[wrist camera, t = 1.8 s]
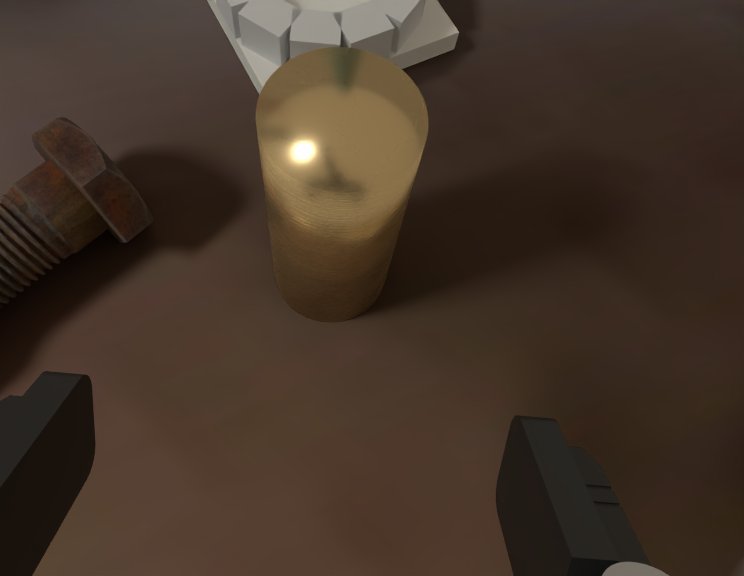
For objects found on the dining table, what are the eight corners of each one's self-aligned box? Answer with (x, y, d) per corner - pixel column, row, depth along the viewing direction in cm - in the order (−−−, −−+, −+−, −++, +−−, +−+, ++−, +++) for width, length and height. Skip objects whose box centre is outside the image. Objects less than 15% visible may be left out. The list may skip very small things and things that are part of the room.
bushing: (304, 340, 27) (302, 219, 17) (255, 245, 29) (227, 80, 19) (405, 293, 29) (459, 152, 18) (353, 203, 30) (378, 26, 20)
